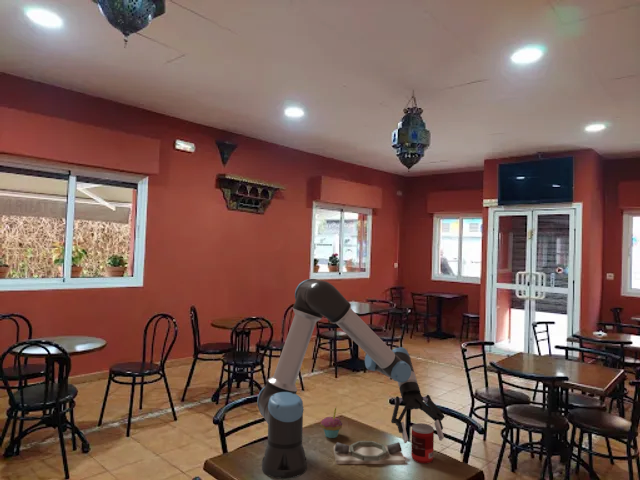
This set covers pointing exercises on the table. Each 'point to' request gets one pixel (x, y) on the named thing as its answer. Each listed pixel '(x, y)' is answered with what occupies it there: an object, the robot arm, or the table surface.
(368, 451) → the plate
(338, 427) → the cupcake
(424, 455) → the canned food
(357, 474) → the table surface
